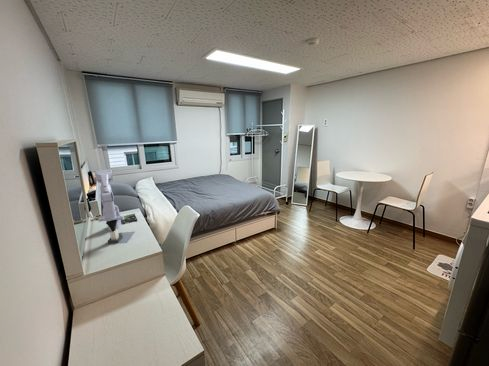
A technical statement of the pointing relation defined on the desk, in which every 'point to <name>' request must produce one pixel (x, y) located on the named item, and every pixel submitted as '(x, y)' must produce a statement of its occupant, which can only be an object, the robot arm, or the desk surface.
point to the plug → (114, 235)
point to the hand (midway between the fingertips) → (113, 230)
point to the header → (115, 240)
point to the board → (124, 237)
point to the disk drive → (129, 219)
